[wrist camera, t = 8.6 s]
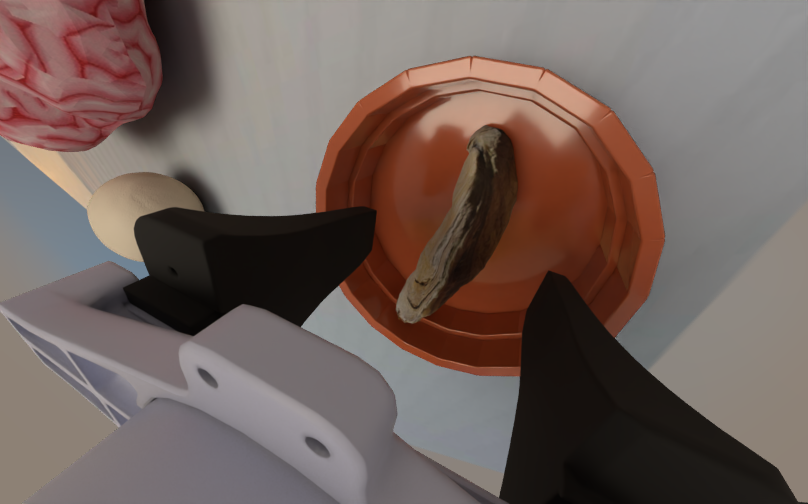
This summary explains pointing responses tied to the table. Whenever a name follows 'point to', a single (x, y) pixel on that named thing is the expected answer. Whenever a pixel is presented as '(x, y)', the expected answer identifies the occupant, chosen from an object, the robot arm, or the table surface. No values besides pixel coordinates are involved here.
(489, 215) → the oyster shell
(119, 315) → the robot arm
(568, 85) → the bowl
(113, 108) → the brain
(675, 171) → the table surface
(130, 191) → the cream ball
